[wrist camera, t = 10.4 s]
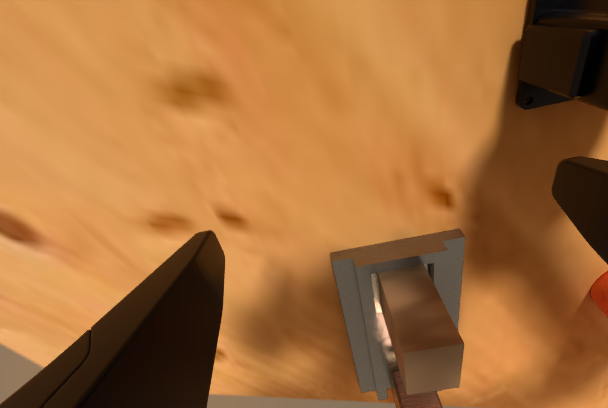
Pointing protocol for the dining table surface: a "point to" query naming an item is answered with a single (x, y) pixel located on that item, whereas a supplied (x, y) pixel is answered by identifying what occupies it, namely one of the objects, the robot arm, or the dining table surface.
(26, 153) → the dining table surface
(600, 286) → the paper cup
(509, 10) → the dining table surface
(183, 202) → the dining table surface
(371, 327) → the rail
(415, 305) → the tan wooden block
